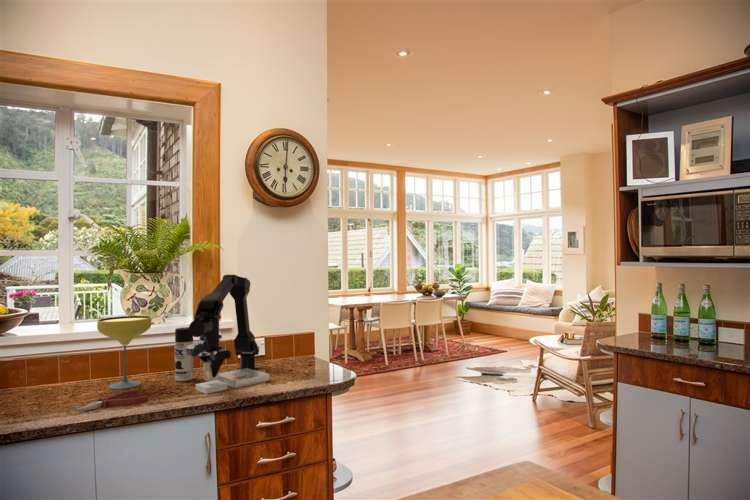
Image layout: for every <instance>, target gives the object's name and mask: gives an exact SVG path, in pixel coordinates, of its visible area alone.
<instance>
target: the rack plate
mask: <svg viewBox="0 0 750 500" xmlns="http://www.w3.org/2000/svg"><path fill="white" fill-rule="evenodd" d="M217 380H218V381H221V382H224V383H227V386H229V387H232V388H235V389H238V388H243V387H247V386H252V385H257V384H260V383H264V382H269V381H270V373H266V372H264V371H259V370H257V369H253V370H252V369H249V368H245V369H235V370H230V371H224V372H219V379H217Z"/></svg>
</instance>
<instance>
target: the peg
mask: <svg viewBox="0 0 750 500" xmlns="http://www.w3.org/2000/svg"><path fill="white" fill-rule="evenodd" d="M202 365H203V367H202V372H203V375H202V376H203V378H202V379H203V380H205V381H206V382H209V381H214V380H217V379H219V373H220V370H219V371H218V373H217V375H216V377H212V370H211V363H210V362H202Z"/></svg>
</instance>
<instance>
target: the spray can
mask: <svg viewBox="0 0 750 500" xmlns="http://www.w3.org/2000/svg"><path fill="white" fill-rule="evenodd" d="M174 335H175V336H174V362H175V363H174V367H175V368H174V370H175V371H174V378H175V379H174V380H175V381H176V382H188V381H189V382H190V381H192V380H193V379H194V357H192V356H189V355H188V352H187V349H186V347H187V346H189V345H191V344H193V343H194V336H192V335H191V334H190V332H189V326H188V327H177V328H175V330H174Z"/></svg>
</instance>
